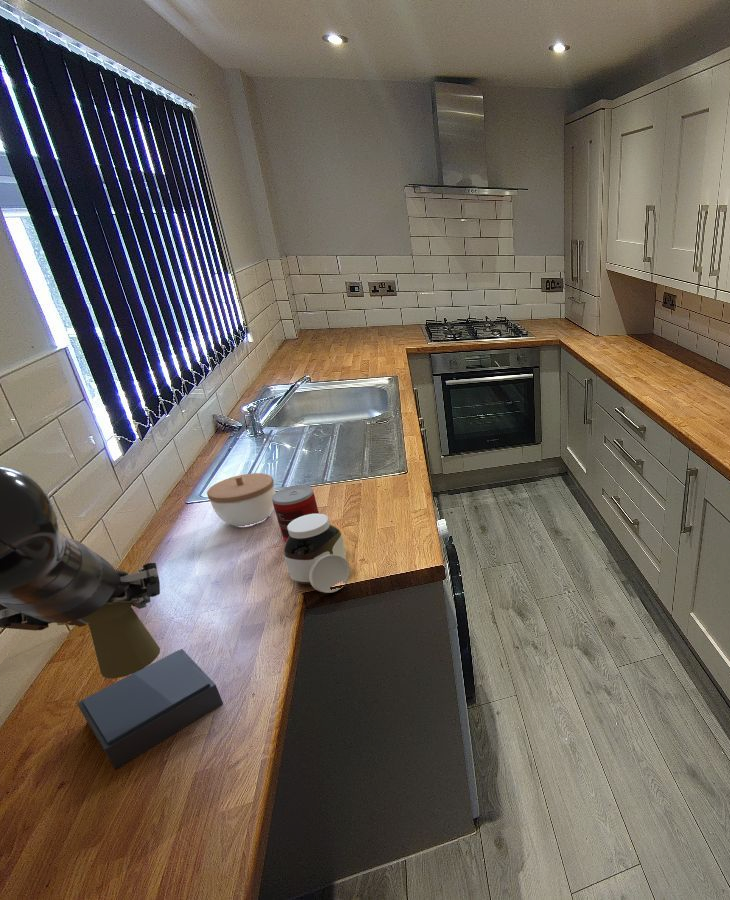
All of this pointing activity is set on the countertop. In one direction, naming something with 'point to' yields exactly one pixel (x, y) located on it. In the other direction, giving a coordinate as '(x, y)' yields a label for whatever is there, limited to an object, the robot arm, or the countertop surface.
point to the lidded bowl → (243, 498)
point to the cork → (120, 641)
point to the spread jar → (316, 553)
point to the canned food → (293, 505)
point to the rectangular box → (149, 706)
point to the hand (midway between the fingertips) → (112, 609)
